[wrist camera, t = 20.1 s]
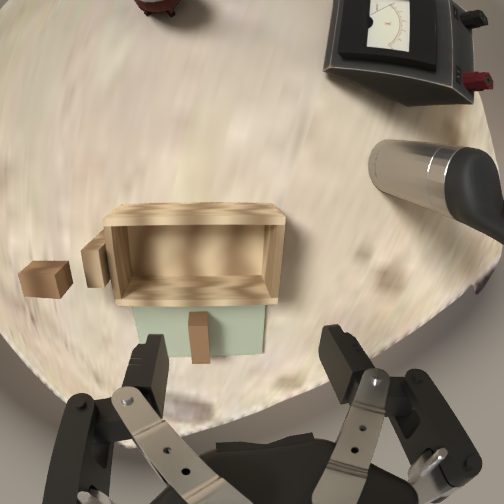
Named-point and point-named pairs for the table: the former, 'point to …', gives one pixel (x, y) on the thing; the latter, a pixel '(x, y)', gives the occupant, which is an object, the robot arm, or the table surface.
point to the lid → (204, 329)
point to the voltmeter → (407, 49)
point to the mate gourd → (157, 6)
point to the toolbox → (188, 254)
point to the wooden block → (46, 279)
